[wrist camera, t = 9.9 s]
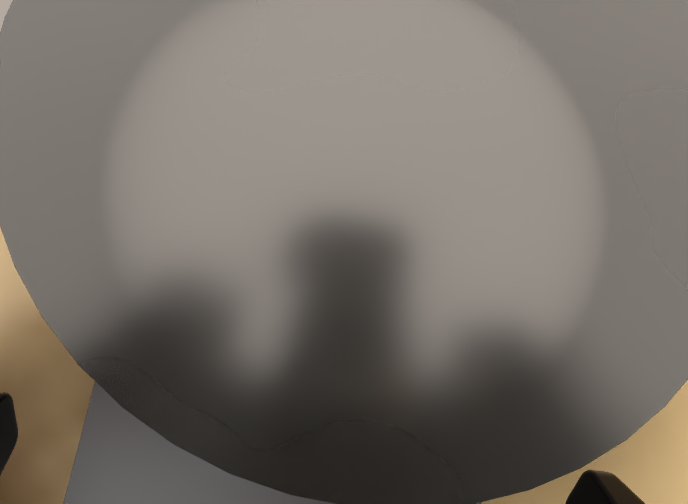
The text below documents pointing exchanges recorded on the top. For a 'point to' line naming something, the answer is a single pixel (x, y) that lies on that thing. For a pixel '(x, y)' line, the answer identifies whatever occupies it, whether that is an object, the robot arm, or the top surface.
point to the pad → (150, 467)
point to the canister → (359, 228)
